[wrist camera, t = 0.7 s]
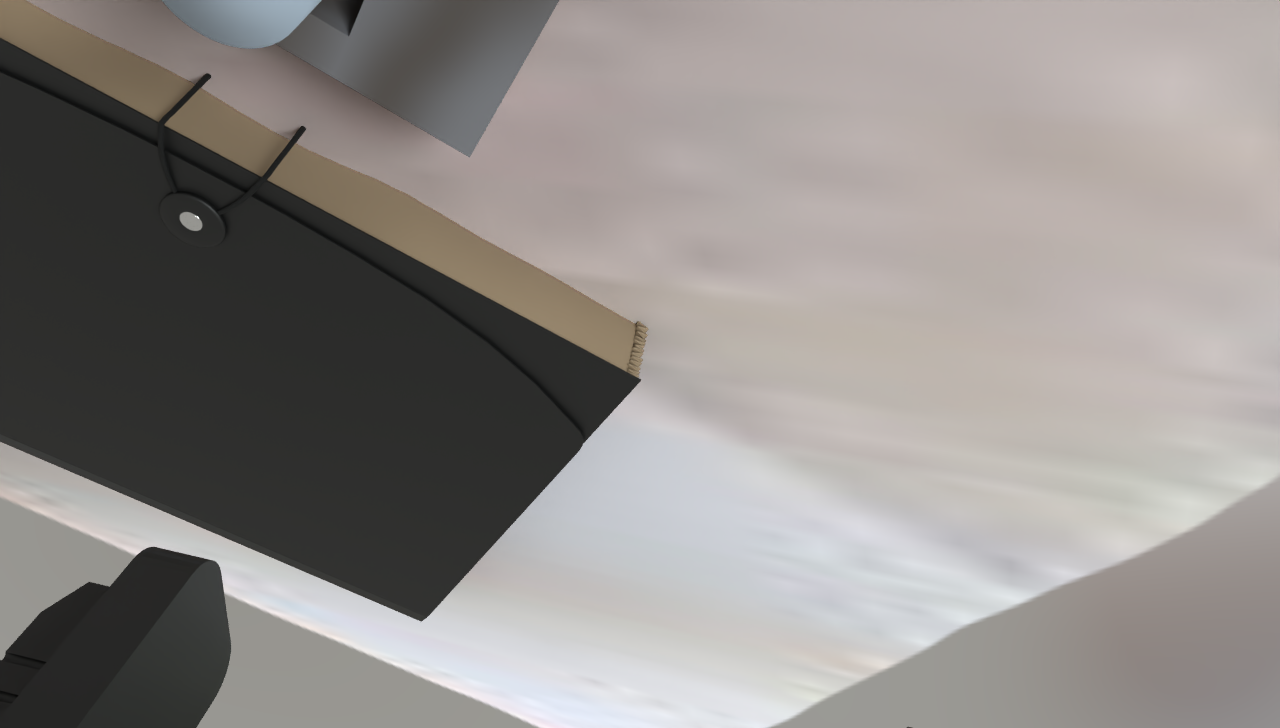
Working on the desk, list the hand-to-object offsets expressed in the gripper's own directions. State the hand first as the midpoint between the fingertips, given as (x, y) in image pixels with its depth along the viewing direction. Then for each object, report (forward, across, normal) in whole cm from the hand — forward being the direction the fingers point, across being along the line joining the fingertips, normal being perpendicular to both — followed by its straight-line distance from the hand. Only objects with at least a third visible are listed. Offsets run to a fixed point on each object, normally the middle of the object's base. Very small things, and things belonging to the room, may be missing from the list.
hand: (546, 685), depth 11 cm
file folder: (+26, +21, +15) cm, 37 cm away
